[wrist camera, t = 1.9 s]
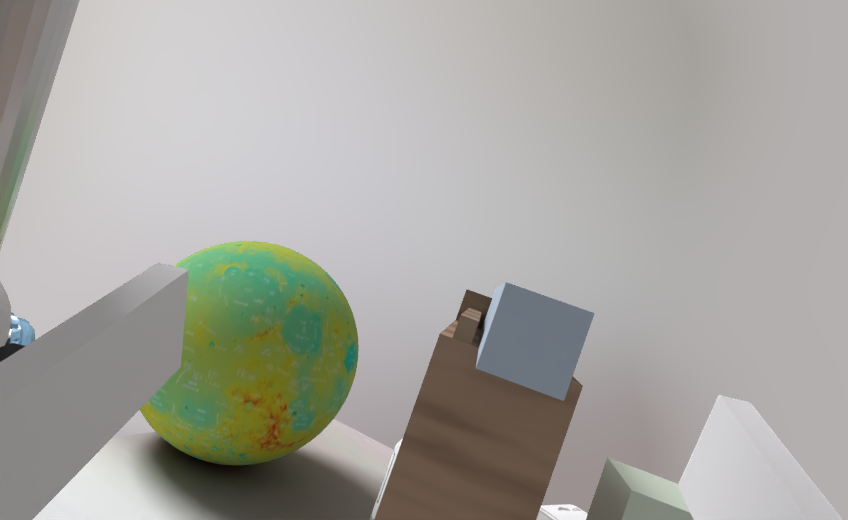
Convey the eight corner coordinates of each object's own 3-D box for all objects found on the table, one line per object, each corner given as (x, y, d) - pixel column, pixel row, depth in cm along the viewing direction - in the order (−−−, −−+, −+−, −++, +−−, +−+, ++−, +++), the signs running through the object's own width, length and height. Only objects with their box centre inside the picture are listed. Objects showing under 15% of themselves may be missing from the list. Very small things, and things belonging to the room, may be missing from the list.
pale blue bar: (563, 400, 25) (594, 313, 25) (475, 368, 25) (506, 282, 26) (523, 344, 53) (537, 303, 53) (481, 329, 53) (495, 288, 53)
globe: (119, 392, 90) (186, 209, 90) (306, 437, 99) (365, 271, 99) (59, 478, 61) (156, 209, 62) (329, 531, 70) (412, 295, 71)
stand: (427, 899, 33) (619, 345, 33) (251, 812, 34) (439, 281, 35) (451, 656, 55) (567, 324, 55) (343, 609, 56) (457, 286, 57)
